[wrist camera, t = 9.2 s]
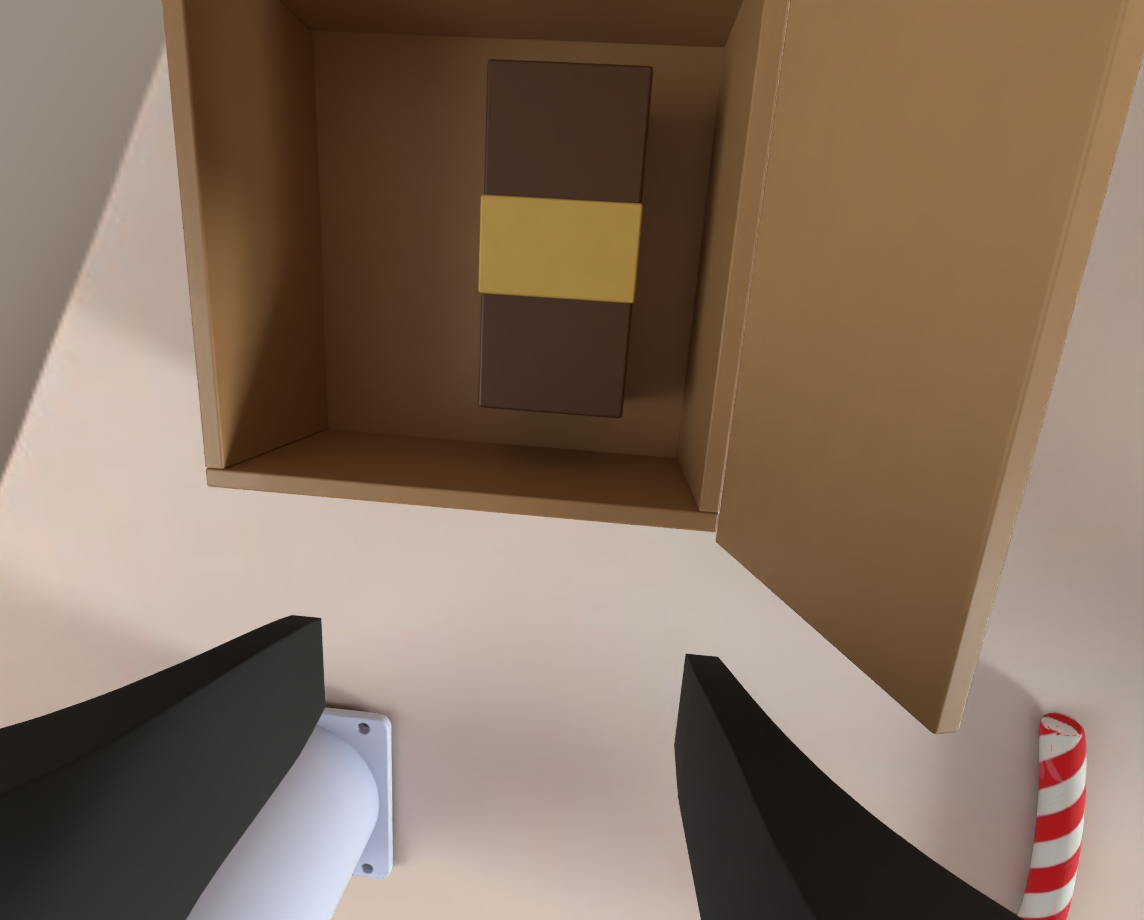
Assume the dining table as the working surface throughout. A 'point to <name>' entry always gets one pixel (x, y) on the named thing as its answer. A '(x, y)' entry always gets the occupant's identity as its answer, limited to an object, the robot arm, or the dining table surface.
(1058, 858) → the candy cane
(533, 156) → the chocolate bar
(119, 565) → the dining table surface
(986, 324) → the box flap
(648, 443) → the cardboard box
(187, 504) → the dining table surface
